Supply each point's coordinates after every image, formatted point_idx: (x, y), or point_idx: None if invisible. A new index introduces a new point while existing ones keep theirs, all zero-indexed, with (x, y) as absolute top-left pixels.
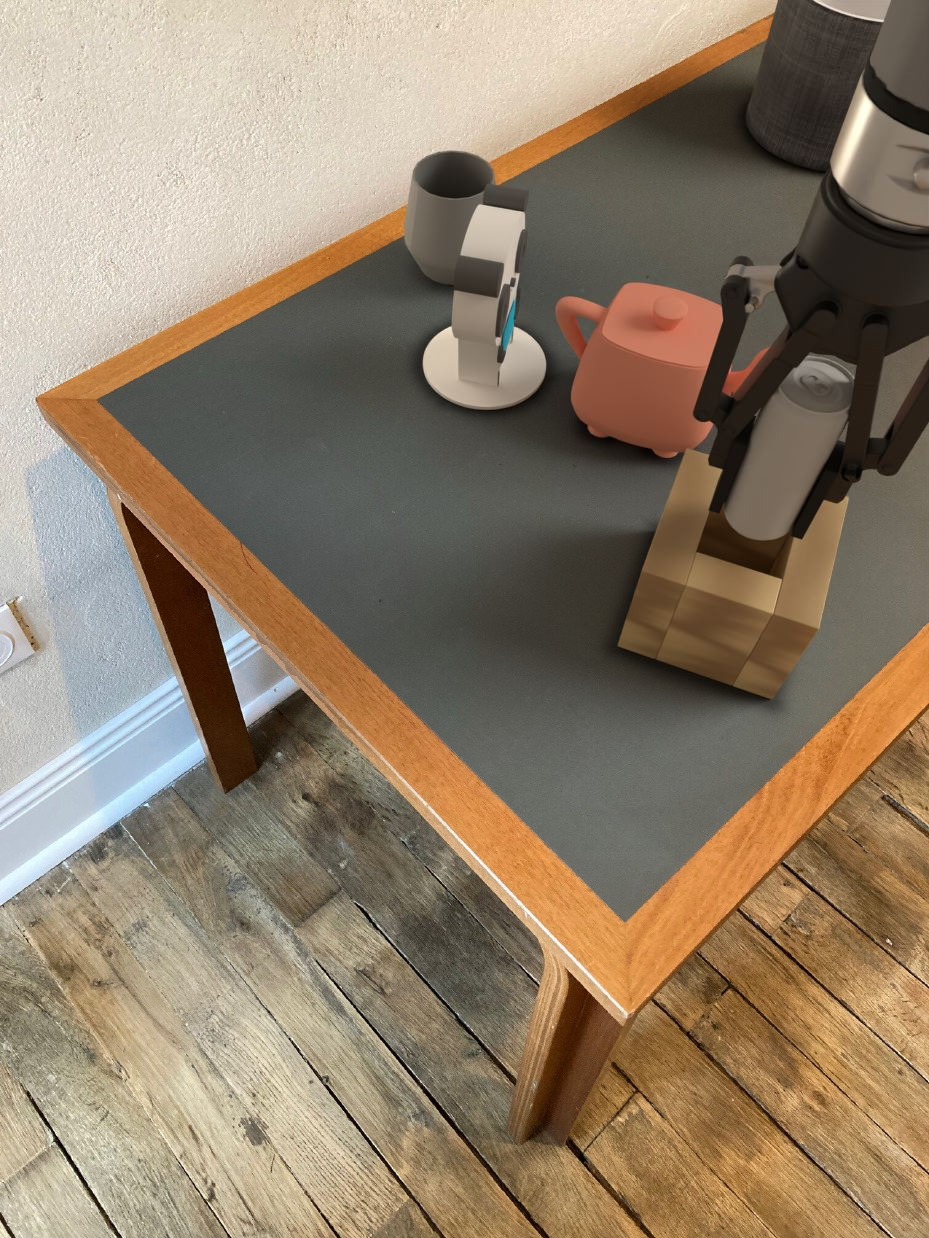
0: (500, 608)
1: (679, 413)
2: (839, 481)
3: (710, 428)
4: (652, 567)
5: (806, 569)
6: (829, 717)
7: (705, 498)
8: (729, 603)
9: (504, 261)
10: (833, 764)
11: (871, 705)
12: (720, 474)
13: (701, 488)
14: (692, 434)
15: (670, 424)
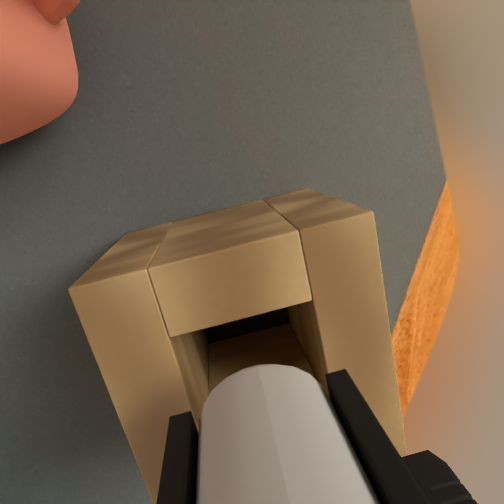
0: (49, 426)
1: (1, 114)
2: None
3: (72, 59)
4: None
5: (361, 385)
6: (391, 330)
7: (164, 368)
8: None
9: None
10: (408, 368)
11: (423, 294)
12: (167, 432)
13: (146, 353)
14: (55, 107)
15: (9, 126)
